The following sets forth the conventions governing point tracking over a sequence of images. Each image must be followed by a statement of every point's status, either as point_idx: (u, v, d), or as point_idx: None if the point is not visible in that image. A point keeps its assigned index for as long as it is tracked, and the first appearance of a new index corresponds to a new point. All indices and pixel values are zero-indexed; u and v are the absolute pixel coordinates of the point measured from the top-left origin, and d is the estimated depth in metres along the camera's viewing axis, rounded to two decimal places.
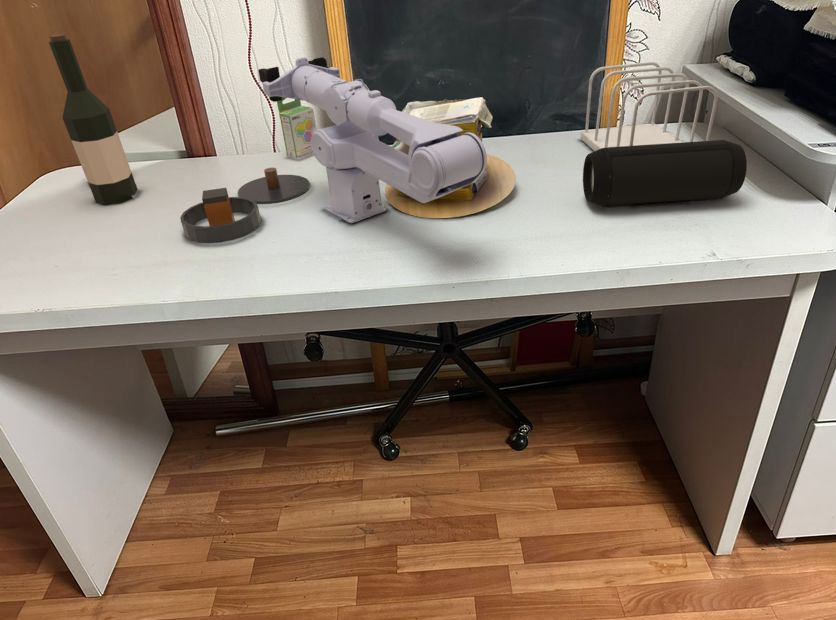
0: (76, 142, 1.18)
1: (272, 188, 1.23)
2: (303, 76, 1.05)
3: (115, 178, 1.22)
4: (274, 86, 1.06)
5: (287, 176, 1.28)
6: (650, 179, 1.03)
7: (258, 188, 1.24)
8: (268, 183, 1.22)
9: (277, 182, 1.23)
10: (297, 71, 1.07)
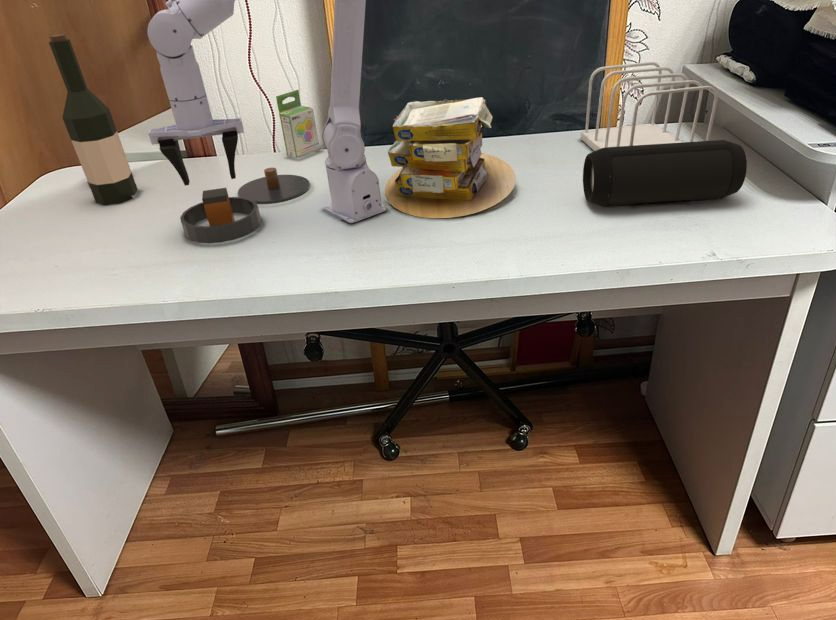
0: (76, 142, 1.18)
1: (272, 188, 1.23)
2: (201, 107, 0.97)
3: (115, 178, 1.22)
4: None
5: (287, 176, 1.28)
6: (650, 179, 1.03)
7: (258, 188, 1.24)
8: (268, 183, 1.22)
9: (277, 182, 1.23)
10: (204, 123, 0.99)
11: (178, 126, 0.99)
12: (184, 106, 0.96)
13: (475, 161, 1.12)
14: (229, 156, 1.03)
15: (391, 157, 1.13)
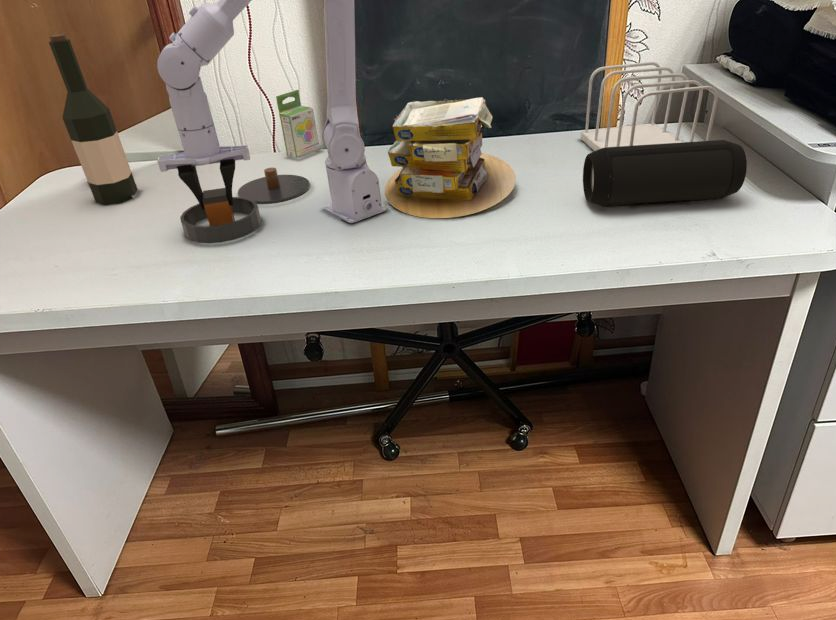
0: (76, 142, 1.18)
1: (272, 188, 1.23)
2: (209, 135, 1.00)
3: (115, 178, 1.22)
4: None
5: (287, 176, 1.28)
6: (650, 179, 1.03)
7: (258, 188, 1.24)
8: (268, 183, 1.22)
9: (277, 182, 1.23)
10: (211, 151, 1.01)
11: (186, 154, 1.01)
12: (192, 135, 0.99)
13: (475, 161, 1.12)
14: (227, 183, 1.05)
15: (391, 157, 1.13)
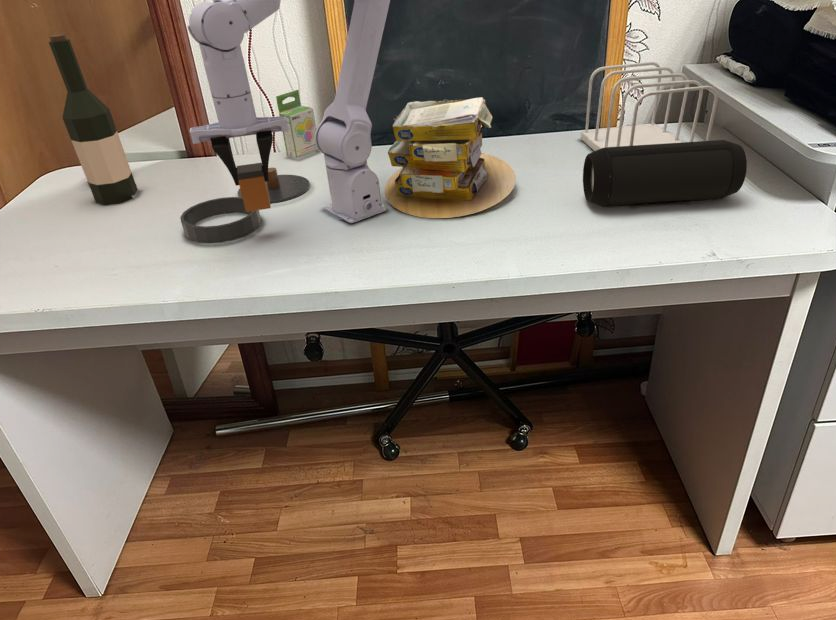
0: (76, 142, 1.18)
1: (272, 188, 1.23)
2: (246, 104, 0.92)
3: (115, 178, 1.22)
4: None
5: (287, 176, 1.28)
6: (650, 179, 1.03)
7: None
8: (268, 183, 1.22)
9: (277, 182, 1.23)
10: (248, 121, 0.94)
11: (221, 124, 0.94)
12: (228, 103, 0.91)
13: (475, 161, 1.12)
14: (263, 157, 0.98)
15: (391, 157, 1.13)
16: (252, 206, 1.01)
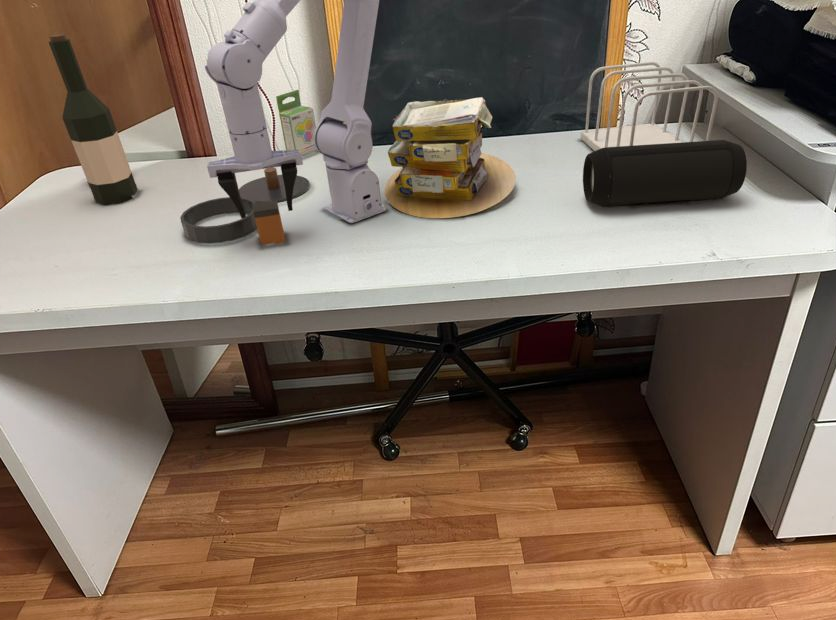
0: (76, 142, 1.18)
1: (272, 188, 1.23)
2: (262, 139, 0.95)
3: (115, 178, 1.22)
4: None
5: None
6: (650, 179, 1.03)
7: (258, 188, 1.24)
8: (268, 183, 1.22)
9: (277, 182, 1.23)
10: (264, 156, 0.96)
11: (237, 159, 0.96)
12: (245, 139, 0.93)
13: (475, 161, 1.12)
14: (288, 188, 1.00)
15: (391, 157, 1.13)
16: (268, 242, 1.04)
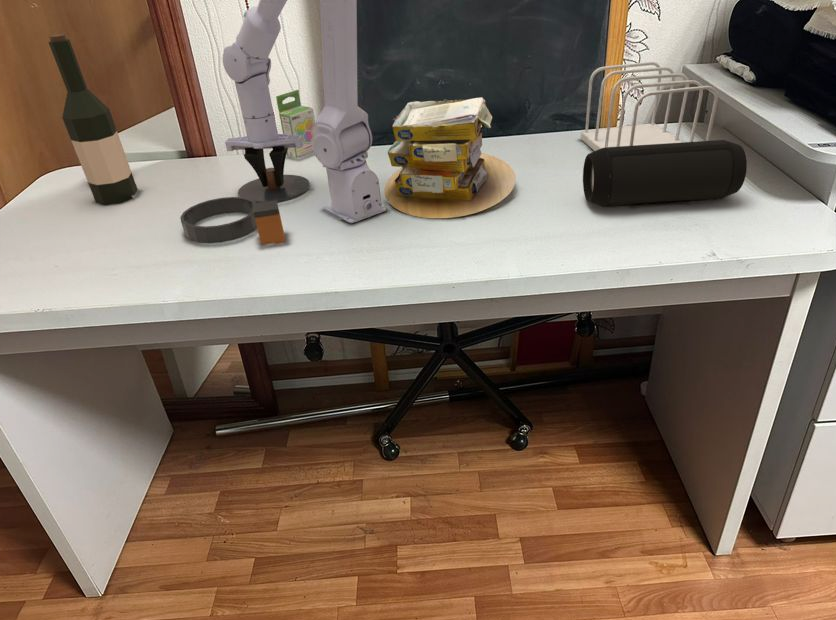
0: (76, 142, 1.18)
1: (272, 188, 1.23)
2: (266, 124, 1.14)
3: (115, 178, 1.22)
4: None
5: (287, 176, 1.28)
6: (650, 179, 1.03)
7: (258, 188, 1.24)
8: (268, 183, 1.22)
9: None
10: (267, 138, 1.16)
11: (248, 138, 1.17)
12: (252, 123, 1.14)
13: (475, 161, 1.12)
14: (276, 167, 1.20)
15: (391, 157, 1.13)
16: (268, 242, 1.04)
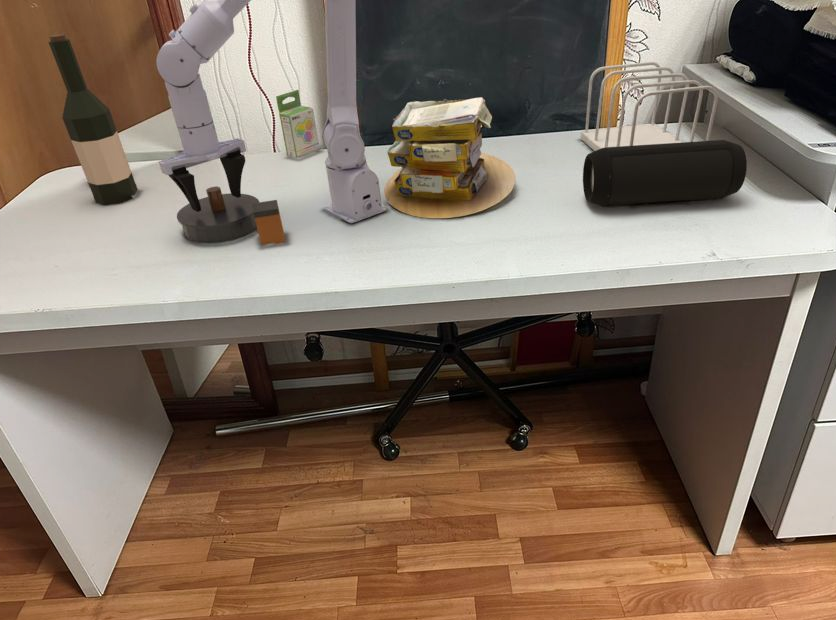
0: (76, 142, 1.18)
1: (221, 209, 1.08)
2: (214, 130, 1.01)
3: (115, 178, 1.22)
4: None
5: None
6: (650, 179, 1.03)
7: (203, 214, 1.07)
8: (216, 204, 1.07)
9: (223, 201, 1.09)
10: (217, 146, 1.02)
11: (192, 153, 1.00)
12: (201, 131, 0.99)
13: (474, 161, 1.12)
14: (237, 175, 1.07)
15: (391, 157, 1.13)
16: (268, 242, 1.04)
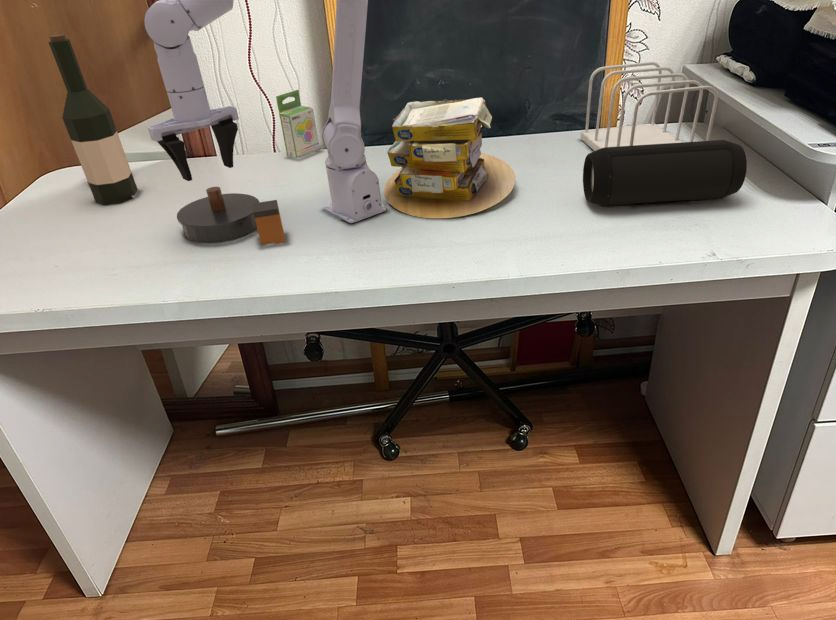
0: (76, 142, 1.18)
1: (221, 209, 1.08)
2: (205, 95, 0.98)
3: (115, 178, 1.22)
4: None
5: None
6: (650, 178, 1.03)
7: (203, 214, 1.07)
8: (216, 204, 1.07)
9: (223, 201, 1.09)
10: (208, 112, 0.99)
11: (182, 119, 0.97)
12: (191, 96, 0.96)
13: (474, 161, 1.12)
14: (229, 144, 1.04)
15: (391, 157, 1.13)
16: (268, 242, 1.04)
